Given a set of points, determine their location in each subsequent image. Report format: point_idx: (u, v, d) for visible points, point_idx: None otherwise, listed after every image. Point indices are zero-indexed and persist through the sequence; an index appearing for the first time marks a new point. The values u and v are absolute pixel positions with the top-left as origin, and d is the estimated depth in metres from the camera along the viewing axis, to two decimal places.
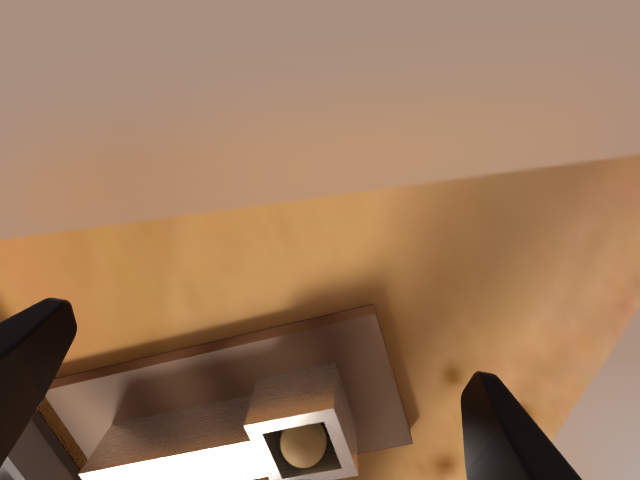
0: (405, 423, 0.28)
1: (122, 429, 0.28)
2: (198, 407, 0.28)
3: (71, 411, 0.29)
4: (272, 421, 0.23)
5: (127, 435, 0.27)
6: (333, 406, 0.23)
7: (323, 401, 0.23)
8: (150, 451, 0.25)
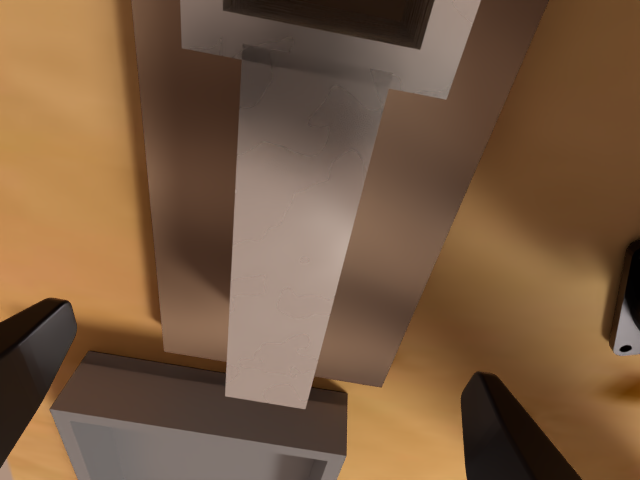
0: None
1: None
2: None
3: (208, 343, 0.19)
4: None
5: None
6: None
7: None
8: None
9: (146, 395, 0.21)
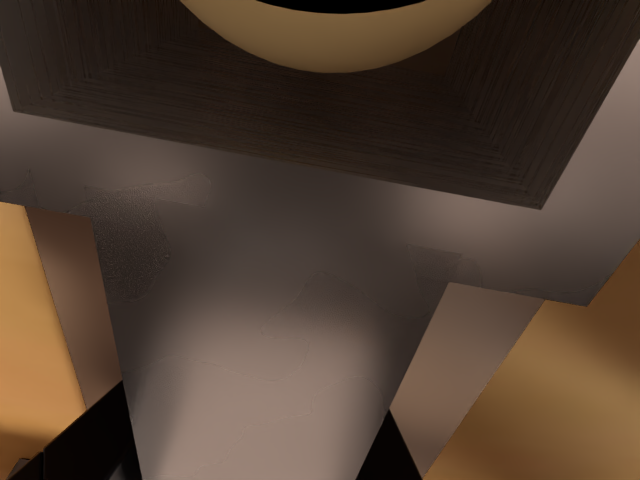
0: None
1: None
2: None
3: None
4: None
5: None
6: None
7: None
8: None
9: None
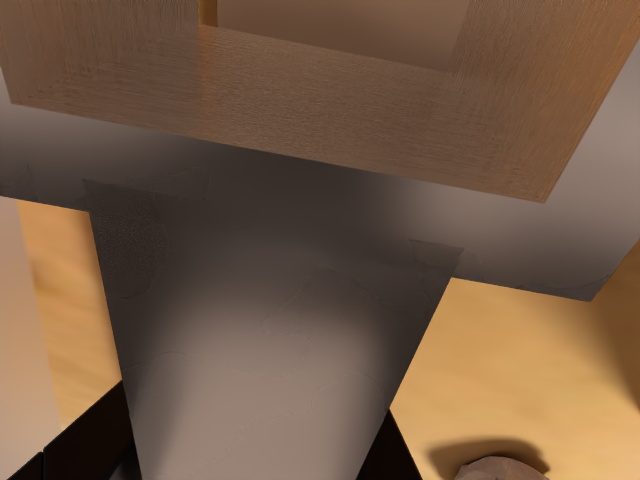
0: None
1: None
2: None
3: None
4: None
5: None
6: None
7: None
8: None
9: None
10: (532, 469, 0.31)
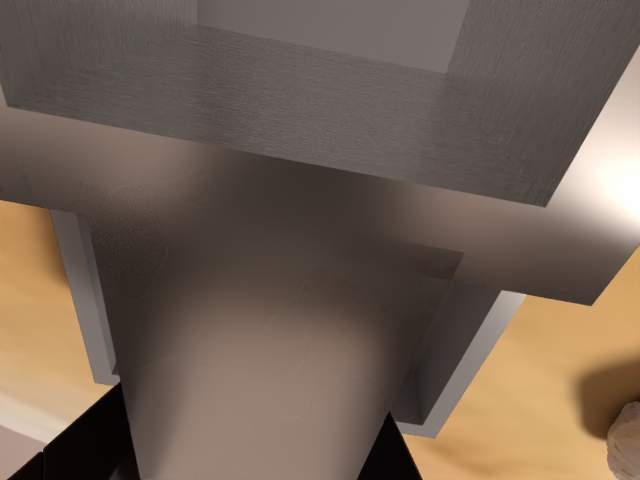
0: None
1: None
2: None
3: None
4: None
5: None
6: None
7: None
8: None
9: None
10: None
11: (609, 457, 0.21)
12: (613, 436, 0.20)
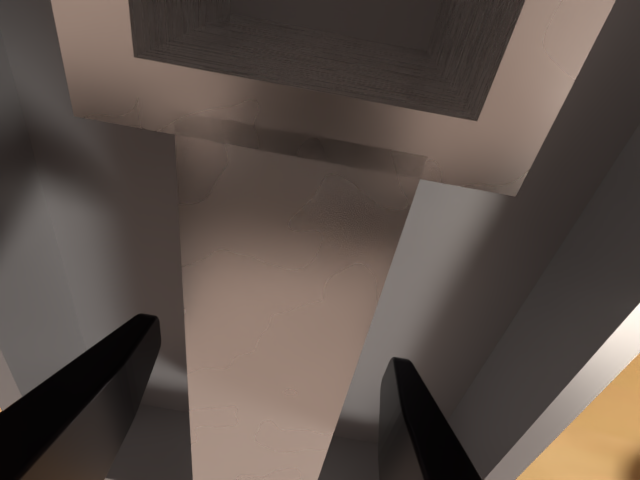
0: None
1: None
2: None
3: None
4: None
5: None
6: None
7: None
8: None
9: None
10: None
11: None
12: None
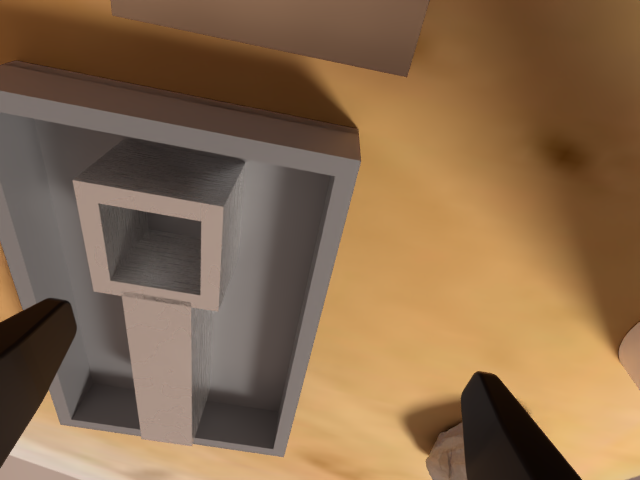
0: None
1: None
2: None
3: None
4: (89, 260, 0.16)
5: None
6: (76, 178, 0.15)
7: None
8: None
9: (90, 92, 0.15)
10: None
11: None
12: (429, 456, 0.30)
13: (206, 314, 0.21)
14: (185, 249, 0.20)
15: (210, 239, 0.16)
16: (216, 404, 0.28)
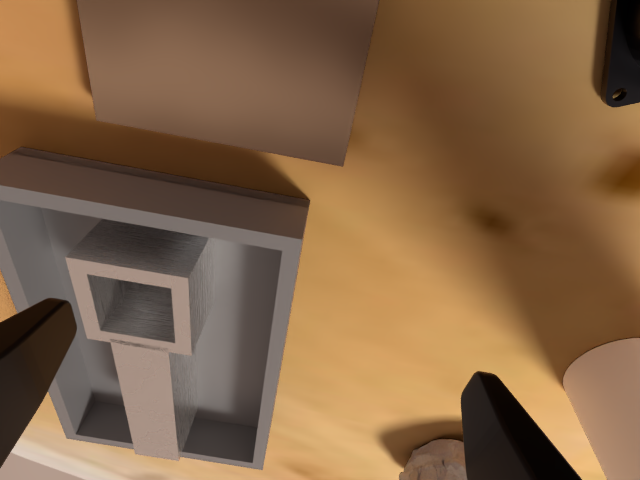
0: None
1: None
2: None
3: (144, 103, 0.17)
4: (82, 315, 0.20)
5: None
6: (68, 255, 0.18)
7: None
8: None
9: (80, 180, 0.19)
10: None
11: None
12: (404, 470, 0.33)
13: None
14: (166, 298, 0.23)
15: (179, 301, 0.19)
16: (204, 421, 0.32)
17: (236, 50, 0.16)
